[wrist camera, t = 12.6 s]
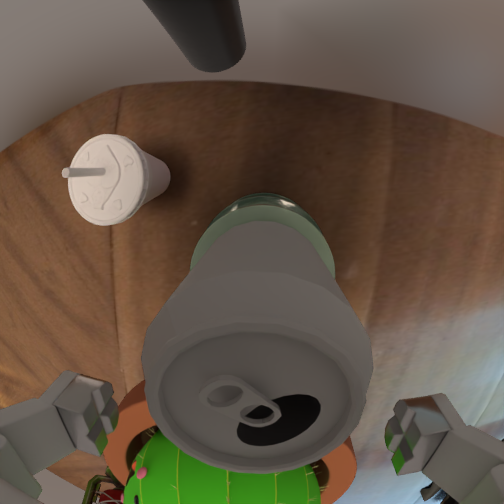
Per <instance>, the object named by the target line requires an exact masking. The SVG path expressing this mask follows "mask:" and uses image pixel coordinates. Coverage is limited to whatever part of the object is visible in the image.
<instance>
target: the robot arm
mask: <svg viewBox="0 0 504 504" xmlns="http://www.w3.org/2000/svg"><path fill="white" fill-rule="evenodd" d="M113 393H114V391H113V388H112V384H111V383H109V382H107V381H104V380H100V379H97V378H93V377H90V376H86V375H83V374H79V373H75V372H72V371H69V370H66V371H63V373H62V374H61V375H60V376H59V377H58V378H57V379H56V380H55V381H54V382H53V383H52V384H51V386H50V387H49V388H48V389H47V390H46V391H45V392H44V393H43V394H42V396H41V397H40V398H39V399H36V398H33V399H30V400H27V401H24V402H21V403H18V404H15V405H12V406H9V407H6V408H3V409H0V504H44V503H42V502H40V501H39V500H37V498H38V497H39V495H40V493H41V492H42V488H41V486H40V484H39V483H38V482H37V481H36V479H35V478H34V477H33V475H35V474H36V473H38V472H40V471H42V470H43V469H45V468H47V467H49V466H50V465H52V464H54V463H55V462H57V461H59V460H61V459H62V458H64V457H66V456H67V455H69V454H71V453H72V452H74V451H75V450H76V449H78V450H81V451H84V452H87V453H90V454H93V455H96V456H99V457H100V456H101V454H102V453H103V451H104V449H105V447H106V445H107V443H108V438H107V435H108V434H110V433H112V432H114V430H115V428H116V426H117V424H118V419H119V409H118V405H117V403H116V402H115V401H114V400H113V398H112V397H111V396H112V395H113ZM393 410H394V413H395V415H394V416H393V417H392V418H391V419H390V420H388V423H387V425H386V428H385V443H386V446H387V449H388V450H390V451H391V452H393V453H394V455H393V457H392V459H391V460H392V463H393V466H394V468H395V471H396V474H397V476H398V475H404V474H409V473H414V472H419V471H422V473H423V474H425V475H426V476H427V477H428V478H429V479H430V480H432V481H433V482H434V483H435V484H437V485H438V486H439V487H440V488H441V489H443V490H444V491H445V492H446V493H447V494H449V495H450V496H451V497H452V498H454V499H455V500H456V501H457V502H459V504H504V442H502V441H500V440H498V439H496V438H494V437H492V436H490V435H488V434H486V433H484V432H482V431H481V430H479V429H477V428H475V427H473V426H471V425H468V426H466V425H465V423H464V422H463V420H462V419H461V417H460V416H459V414H458V413H457V411H456V410H455V408H454V407H453V405H452V404H451V402H450V401H449V399H448V398H447V396H446V395H445V394H443V393H439V394H434V395H428V396H423V397H416V398H409V399H402V400H399V401H398V402H397V403H396V405H395V407H394V409H393Z"/></svg>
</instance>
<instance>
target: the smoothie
mask: <svg viewBox="0 0 504 504" xmlns="http://www.w3.org/2000/svg"><path fill="white" fill-rule="evenodd" d="M62 175H63V177H64V178H68V188H69V194H70V198H71V200H72V203H73V205H74V207H75V208H76V210H77V211H78V213H79V214H80V215H81V216H82V217H83V218H84V219H86V220H87V221H89V222H91V223H93V224H96V225H103V226H106V225H114V224H117V223H121V222H124V221H125V220H127V219H129V218H130V217H132V216H133V215H134V214H135V213H136V211H137V210H138V209H139V208H140V206H142V205H143V204H145V203H147V202H148V201H150V200H152V199H153V198H155V197H157V196H159V195H160V194H162V193H163V192H164V191H165V190H166V189H167V187H168V186H169V183H170V171H169V168H168V167H167V165H166V164H165V163H164V162H163V161H161V160H159V159H157V158H155V157H154V156H152V155H150V154H148V153H146V152H144V151H142V150H141V149H140V148H139V147H138V146H137V145H136V143H135V142H133V141H131V140H130V139H128V138H127V137H124V136H120V135H112V134H104V135H99V136H96V137H94V138H92V139H90V140H89V141H87V142H86V143H85V144H84V145H83V146H82V147H81V148H80V149H79V150H78V152H77V153H76V155H75V157H74V158H73V161H72V163H71V166H70V168H64V169H63V171H62Z"/></svg>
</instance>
